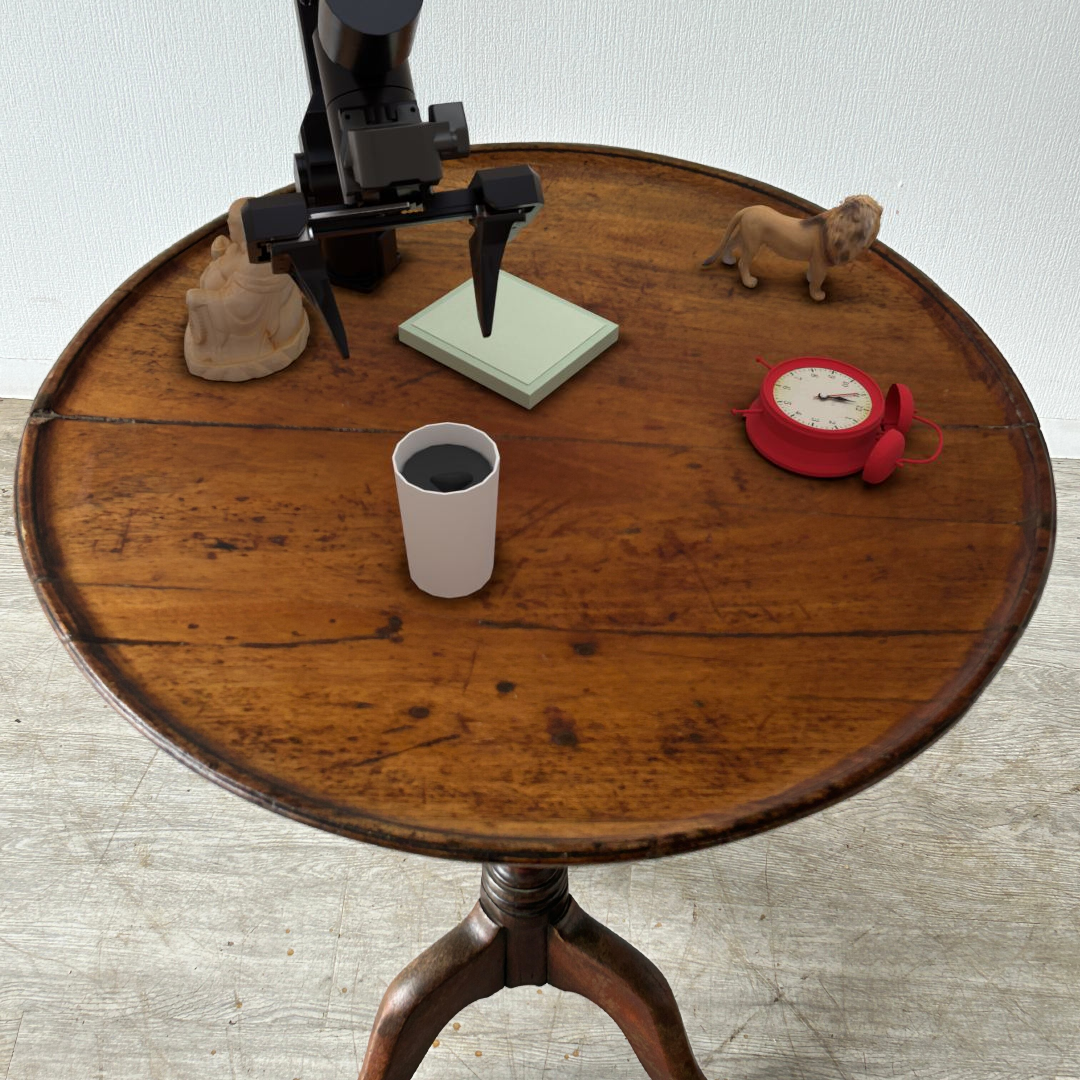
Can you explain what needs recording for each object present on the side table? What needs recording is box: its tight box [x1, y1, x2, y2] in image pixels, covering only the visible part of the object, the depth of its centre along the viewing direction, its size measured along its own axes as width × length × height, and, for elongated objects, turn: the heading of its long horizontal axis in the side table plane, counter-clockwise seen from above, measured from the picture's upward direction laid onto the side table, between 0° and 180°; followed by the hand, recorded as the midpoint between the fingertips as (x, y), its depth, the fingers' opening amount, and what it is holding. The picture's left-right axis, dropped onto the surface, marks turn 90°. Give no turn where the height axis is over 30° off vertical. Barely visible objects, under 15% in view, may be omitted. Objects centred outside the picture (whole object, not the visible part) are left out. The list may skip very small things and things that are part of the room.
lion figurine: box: [700, 193, 884, 302], centre depth 99 cm, size 15×5×9 cm, turn 79°
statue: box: [183, 196, 311, 383], centre depth 90 cm, size 12×14×10 cm
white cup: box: [391, 421, 501, 599], centre depth 73 cm, size 7×7×10 cm
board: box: [397, 268, 620, 410], centre depth 94 cm, size 14×12×2 cm
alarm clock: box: [730, 356, 944, 485], centre depth 85 cm, size 10×6×15 cm
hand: (418, 347), depth 72 cm, fingers open, 9 cm apart
